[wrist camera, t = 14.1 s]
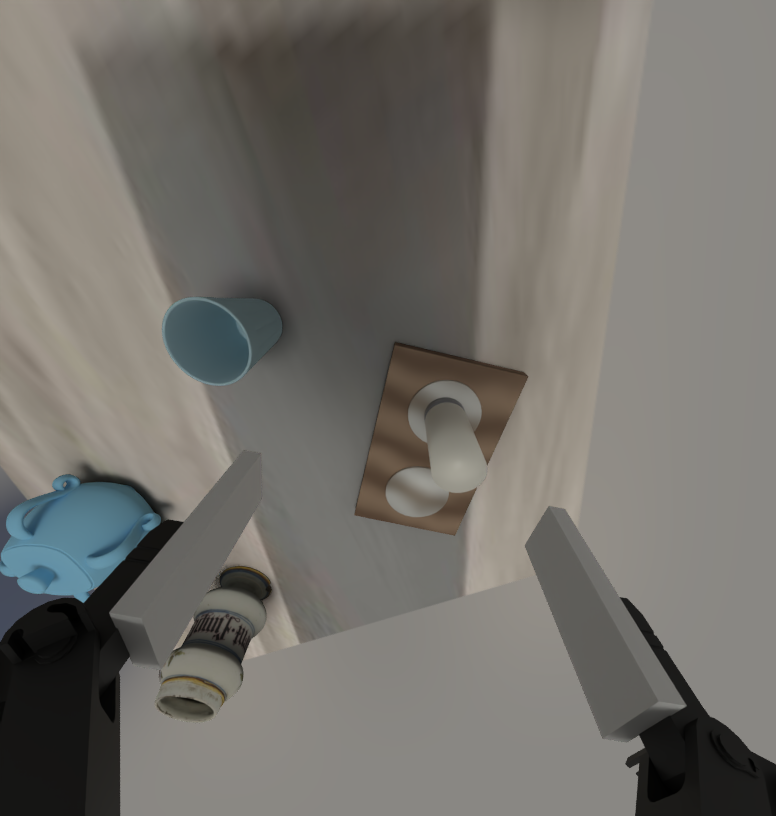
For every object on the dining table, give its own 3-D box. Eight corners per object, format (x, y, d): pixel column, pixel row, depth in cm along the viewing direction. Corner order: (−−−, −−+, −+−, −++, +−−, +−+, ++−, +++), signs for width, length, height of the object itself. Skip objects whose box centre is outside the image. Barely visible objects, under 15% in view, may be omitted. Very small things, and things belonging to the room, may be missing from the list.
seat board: (395, 342, 35) (394, 346, 33) (523, 372, 36) (529, 378, 34) (355, 507, 47) (353, 517, 45) (453, 527, 48) (455, 538, 46)
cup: (302, 311, 34) (263, 329, 25) (278, 366, 37) (235, 400, 28) (240, 274, 33) (173, 278, 23) (220, 334, 36) (154, 358, 26)
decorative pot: (89, 449, 44) (-32, 519, 32) (187, 506, 49) (113, 588, 36) (59, 507, 50) (-53, 585, 38) (149, 554, 54) (74, 638, 42)
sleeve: (430, 393, 35) (440, 442, 26) (470, 402, 36) (496, 455, 26) (419, 428, 38) (425, 486, 28) (457, 436, 38) (476, 497, 28)
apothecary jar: (283, 603, 59) (238, 731, 43) (225, 602, 60) (158, 727, 43) (270, 562, 54) (212, 691, 37) (206, 561, 54) (122, 687, 38)
